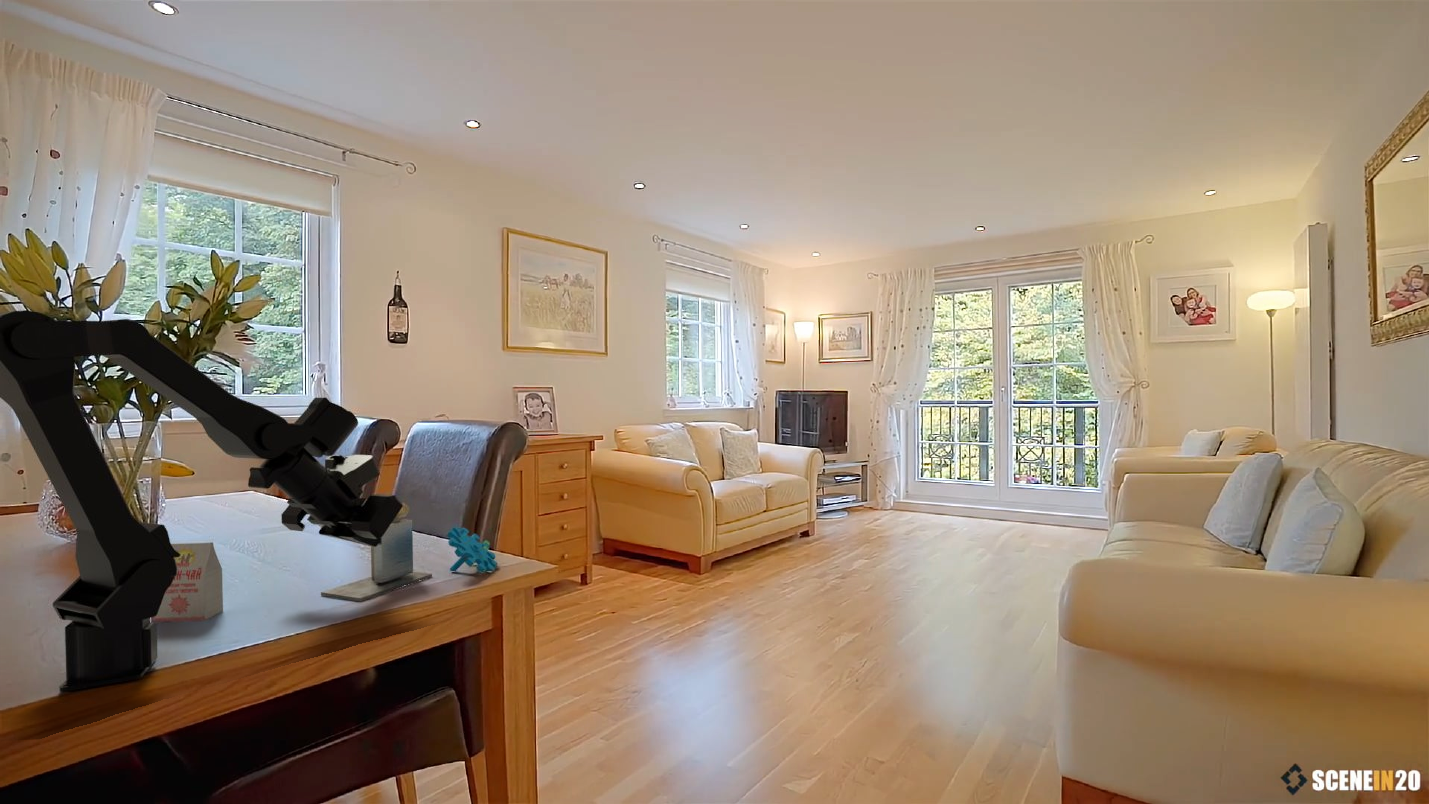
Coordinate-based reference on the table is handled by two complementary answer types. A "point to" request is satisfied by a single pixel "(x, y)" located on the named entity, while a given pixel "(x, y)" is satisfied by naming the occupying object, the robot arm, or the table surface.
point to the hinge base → (368, 586)
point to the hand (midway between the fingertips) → (376, 544)
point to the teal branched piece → (471, 550)
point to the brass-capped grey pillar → (394, 552)
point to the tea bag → (193, 585)
